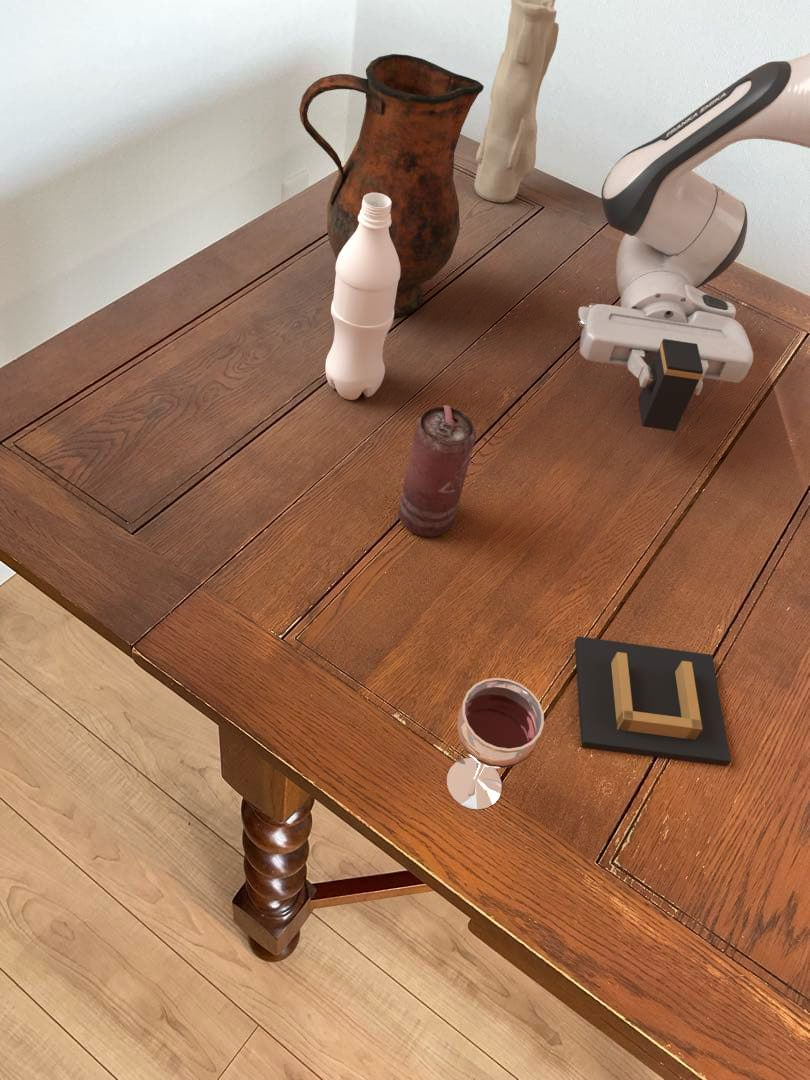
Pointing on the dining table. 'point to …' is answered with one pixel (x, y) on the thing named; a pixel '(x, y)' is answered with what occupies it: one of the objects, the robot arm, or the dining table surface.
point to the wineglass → (493, 738)
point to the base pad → (649, 701)
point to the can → (436, 470)
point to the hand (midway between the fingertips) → (672, 387)
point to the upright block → (671, 385)
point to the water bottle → (363, 302)
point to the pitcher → (402, 162)
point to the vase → (516, 101)
